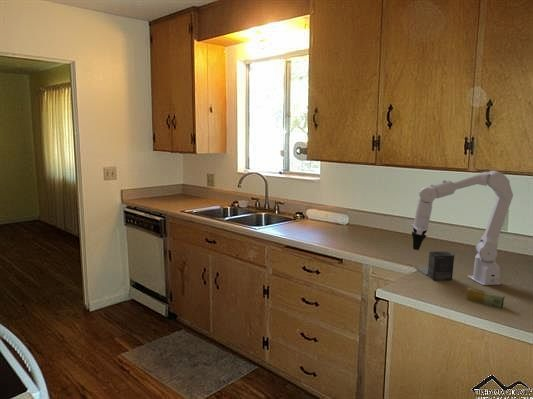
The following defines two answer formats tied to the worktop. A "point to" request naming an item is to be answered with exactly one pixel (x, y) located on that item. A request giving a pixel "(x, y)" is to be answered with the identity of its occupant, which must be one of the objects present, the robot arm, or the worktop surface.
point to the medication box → (485, 298)
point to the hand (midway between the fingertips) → (416, 247)
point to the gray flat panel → (422, 270)
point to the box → (440, 265)
